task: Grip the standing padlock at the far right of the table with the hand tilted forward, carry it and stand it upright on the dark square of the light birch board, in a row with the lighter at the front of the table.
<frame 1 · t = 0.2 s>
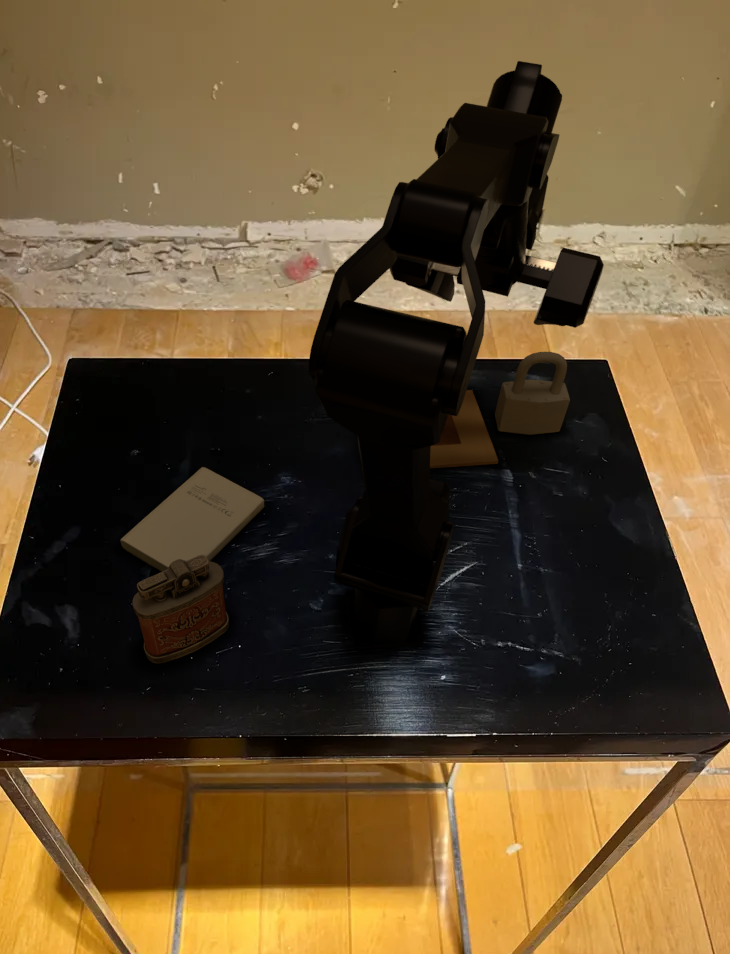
hand: (494, 308, 84), 15 cm above the table, tool tilted 35°, fingers open, 9 cm apart
layout board: (424, 430, 93), on the table
hard drive: (195, 529, 83), on the table
lighter: (187, 638, 75), on the table
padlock: (526, 425, 95), on the table
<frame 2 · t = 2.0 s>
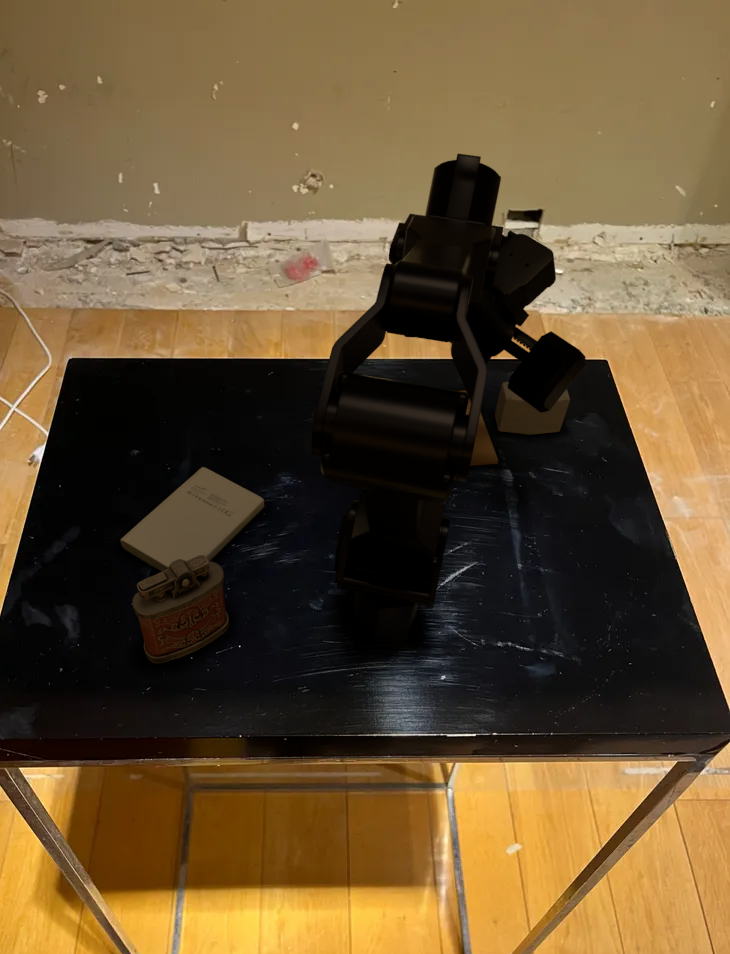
hand: (520, 360, 85), 11 cm above the table, tool tilted 45°, fingers open, 9 cm apart
nothing on the table moved.
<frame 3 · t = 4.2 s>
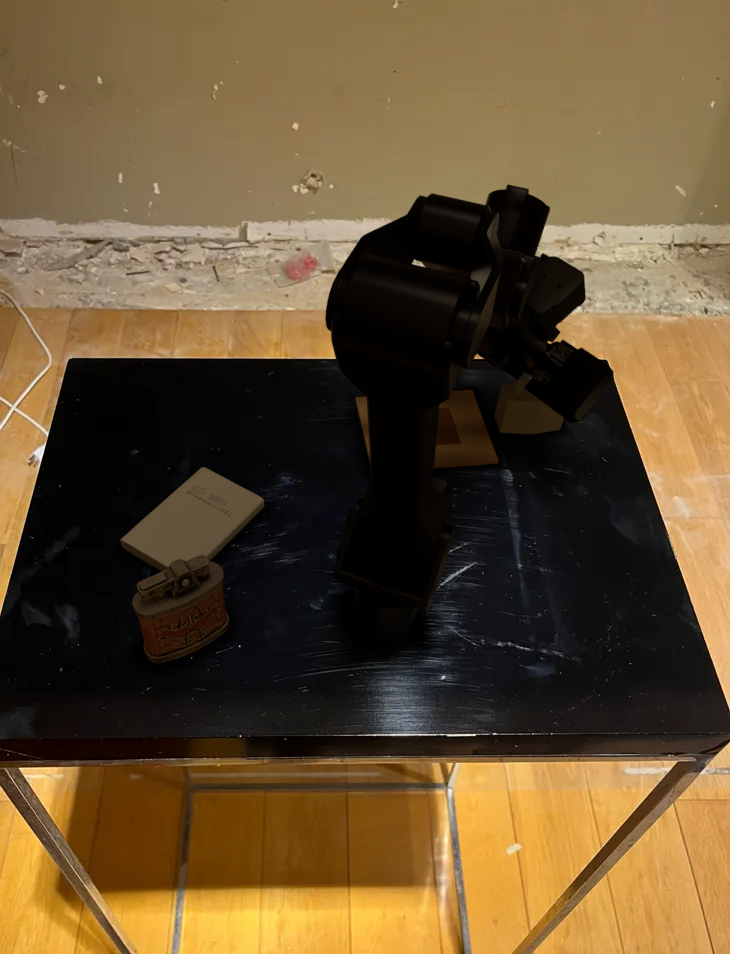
hand: (549, 373, 90), 7 cm above the table, tool tilted 45°, fingers closed on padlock, 3 cm apart
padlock: (526, 425, 95), on the table, touching gripper
everything else where it was.
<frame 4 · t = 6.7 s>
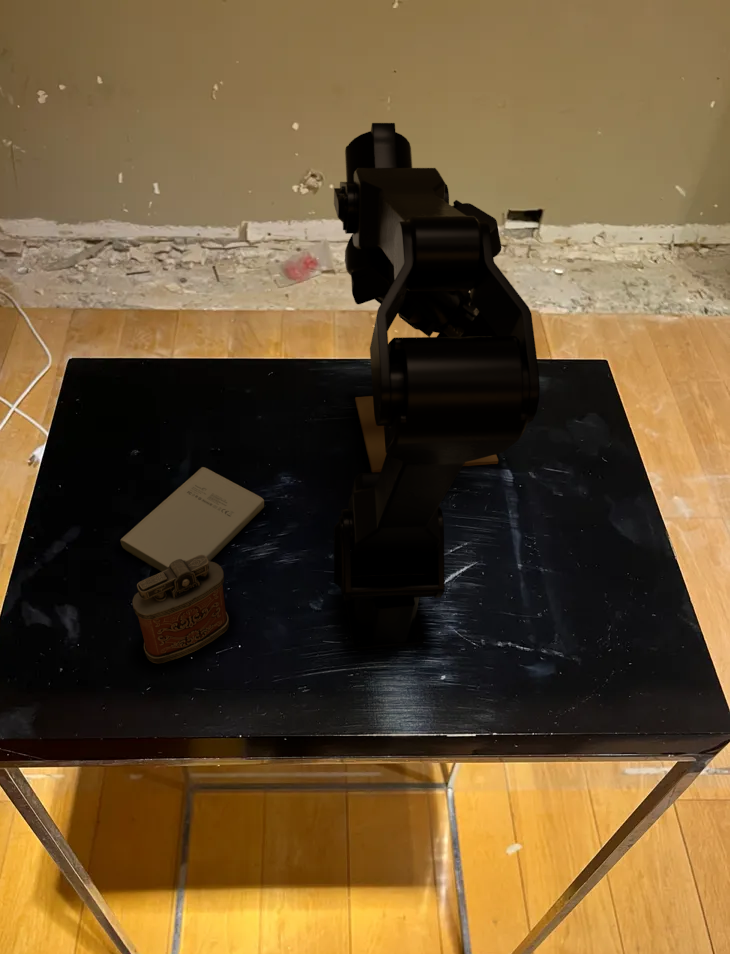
hand: (472, 335, 85), 12 cm above the table, tool tilted 45°, fingers closed on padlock
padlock: (451, 394, 89), point 5 cm above the table, touching gripper
everything else where it was.
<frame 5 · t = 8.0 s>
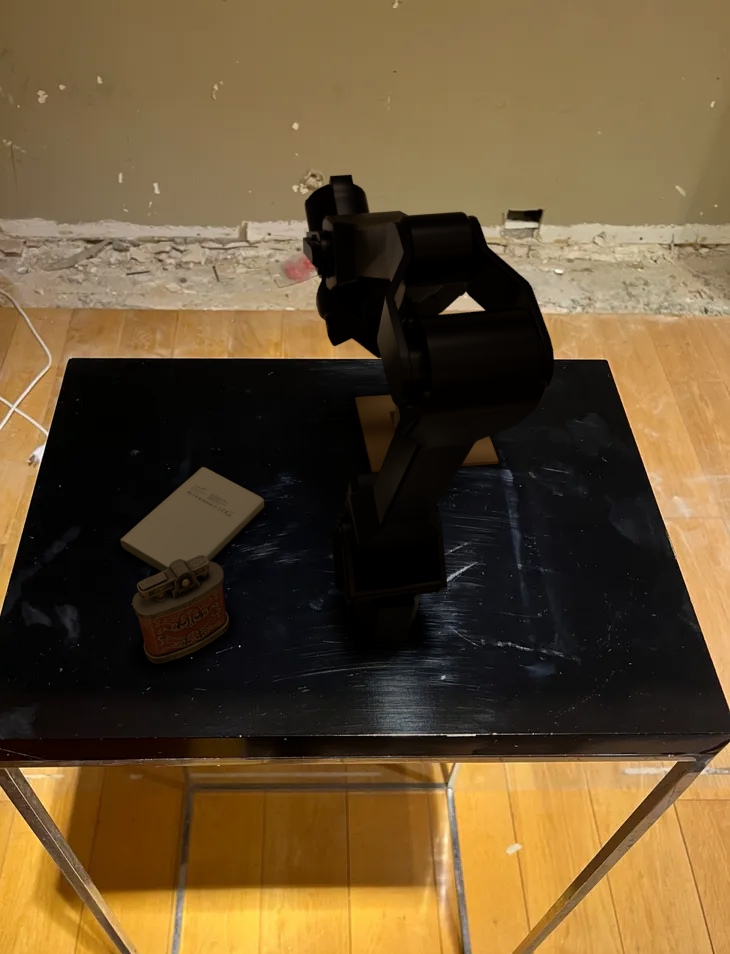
hand: (443, 367, 87), 8 cm above the table, tool tilted 45°, fingers closed on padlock
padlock: (424, 423, 92), point 1 cm above the table, touching gripper
everything else where it was.
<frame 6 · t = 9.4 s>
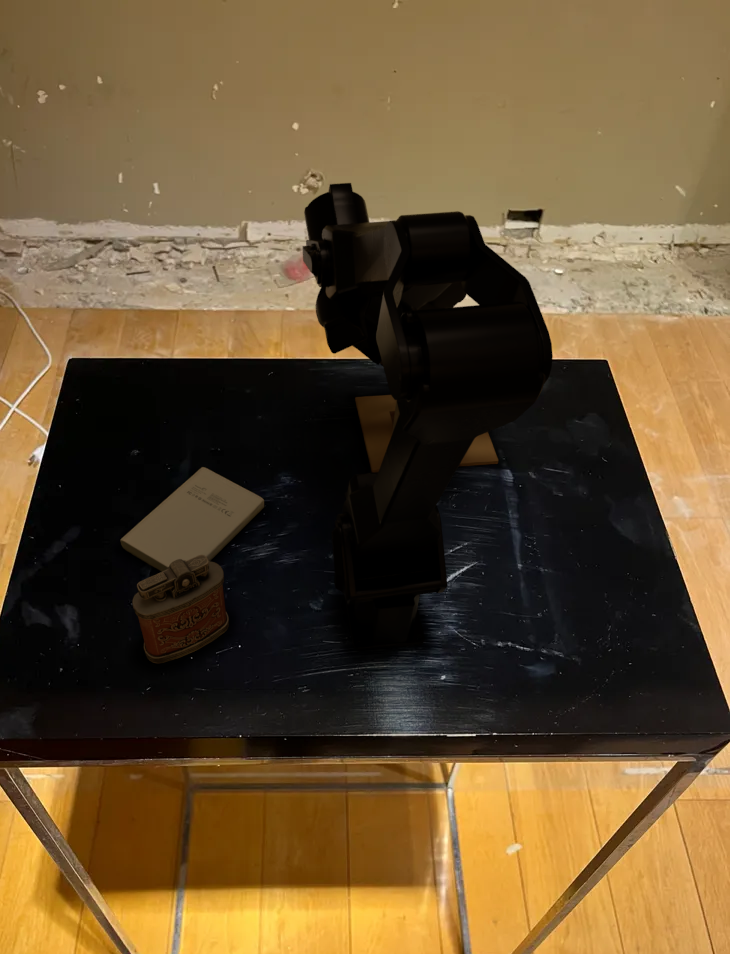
hand: (442, 371, 88), 8 cm above the table, tool tilted 45°, fingers open, 9 cm apart
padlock: (423, 429, 93), resting on layout board
everything else where it was.
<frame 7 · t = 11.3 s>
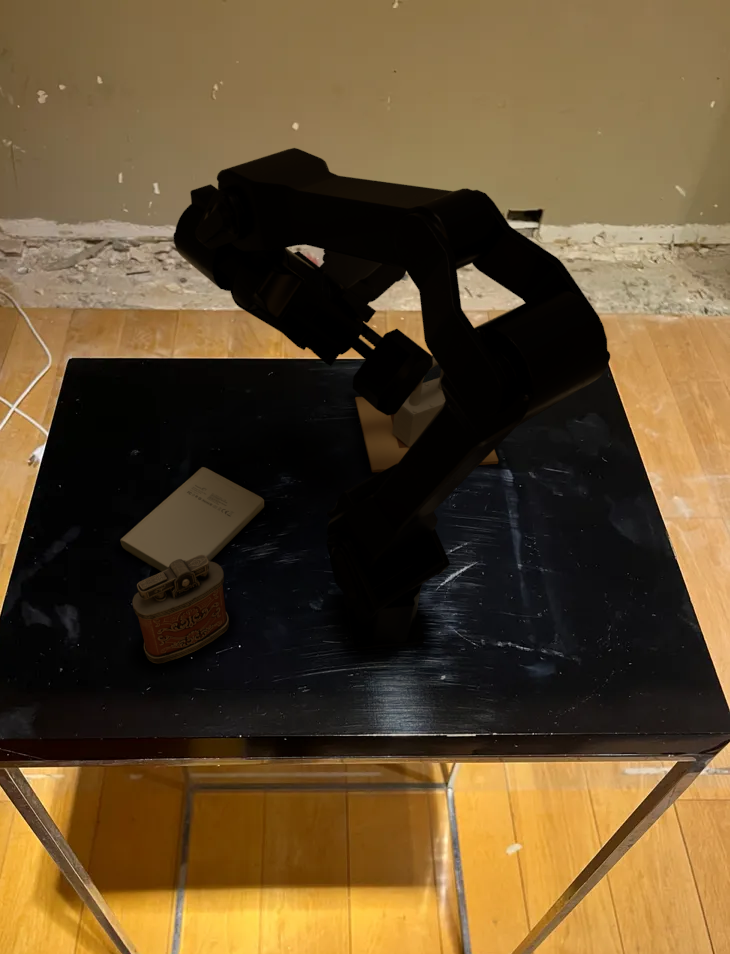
hand: (386, 360, 80), 13 cm above the table, tool tilted 45°, fingers open, 9 cm apart
nothing on the table moved.
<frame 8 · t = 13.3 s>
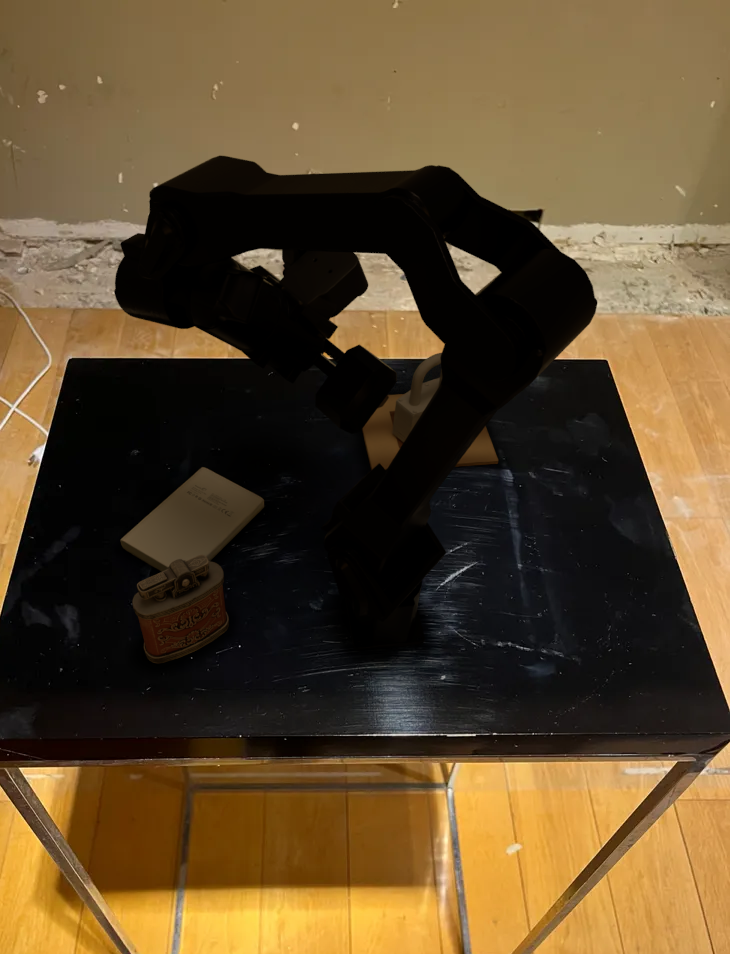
hand: (353, 375, 78), 14 cm above the table, tool tilted 45°, fingers open, 9 cm apart
nothing on the table moved.
at the end: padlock 0.4 cm off-centre on the layout board, point 0.4 cm above the layout board's base; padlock tilted 0°; lighter moved 0.2 cm from its start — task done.
